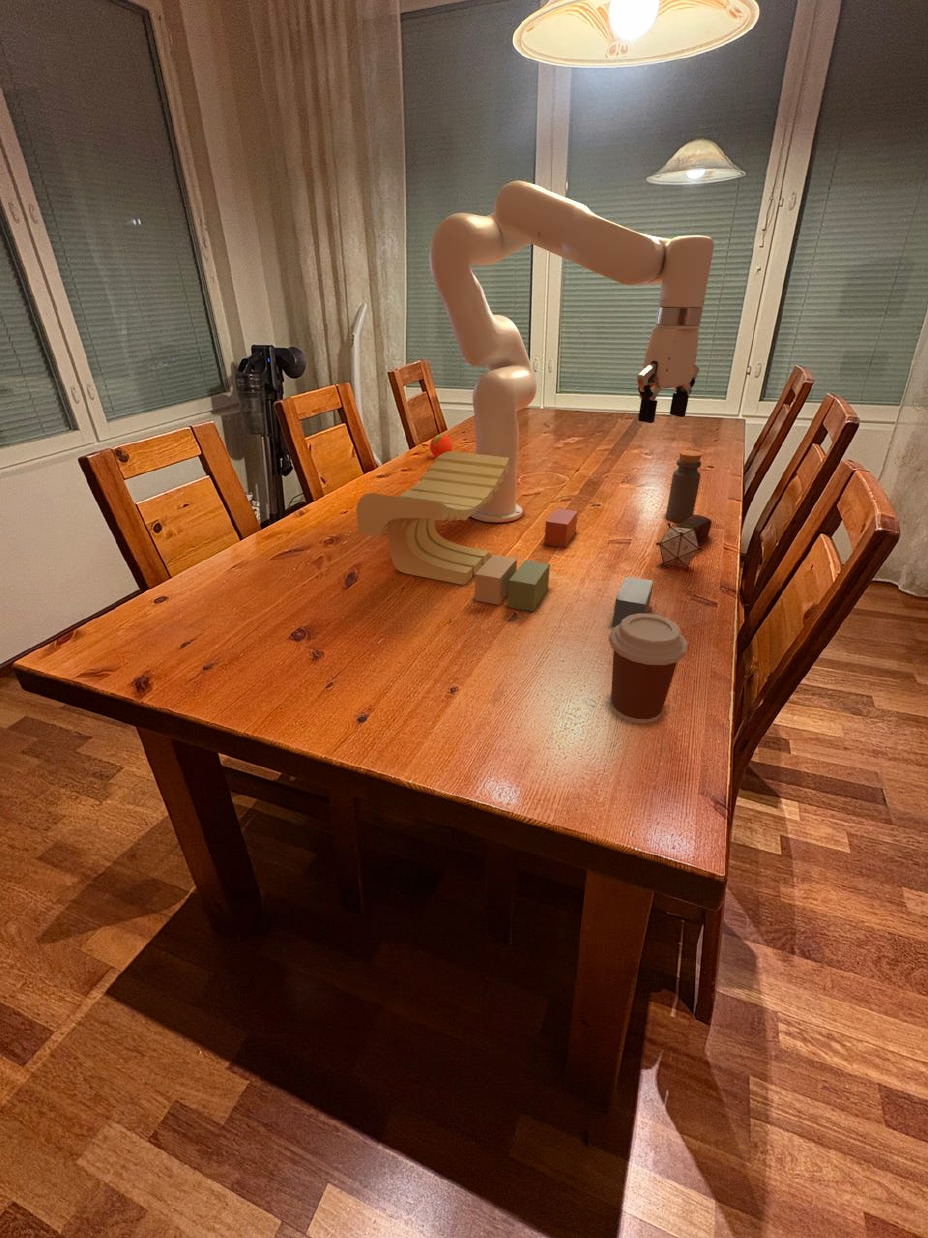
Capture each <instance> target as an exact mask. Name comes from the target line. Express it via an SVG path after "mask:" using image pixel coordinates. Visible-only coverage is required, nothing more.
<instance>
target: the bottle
mask: <svg viewBox="0 0 928 1238" xmlns="http://www.w3.org/2000/svg"><path fill="white" fill-rule="evenodd" d="M702 456H703V453H702V452H699V451H696V450H681V451H679V458H678V459H677V460H676V466H678V468H677V469H675V470H674V471H673V473H672V478H671V484H670V489H669V495H668V500H667V505H666V512H665V518H666V519H667V520H669V521H672V522H676V523H682V522H684V521H685V520H686V519H688V518H689V517H691V516H692V515H694V512H695V506H696V502H697V497H698V493H699V491H698V490H699V486H700V481H701V475H702V474H701V472H700V471H699V470H698V469H699V468H700V467H701V466H702V461H701V459H702Z"/></svg>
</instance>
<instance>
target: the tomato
mask: <svg viewBox="0 0 928 1238" xmlns="http://www.w3.org/2000/svg"><path fill="white" fill-rule="evenodd" d="M429 448H430V452H431V454H432V455H433V456H434V457H435V458H437V457H438V456H440V455H441V454H443V453H445V452H449V451H453V442H452V440H451V438H450V437H448V436H447V435H446V434H437V435H435V436H434V437H433V438H432V439H431V440H430V443H429Z"/></svg>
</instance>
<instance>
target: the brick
mask: <svg viewBox="0 0 928 1238" xmlns="http://www.w3.org/2000/svg"><path fill="white" fill-rule="evenodd" d="M695 526H697V528H696V529H695V533H696V537H697V541H698V545H699V544H700V543H701V542H703V541H704V540H705V539H707V538H708V537H709V533H710V531H711V528H712V519H710V518H709V517H706V516H704V515H700V514H693V515H692V516H691V517H689V518H688V519H686V520H685V521H684V522H679V524H677V526H676V527H681V528H690V529H694V527H695Z"/></svg>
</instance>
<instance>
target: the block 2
mask: <svg viewBox="0 0 928 1238" xmlns="http://www.w3.org/2000/svg"><path fill="white" fill-rule="evenodd" d="M550 569H551V563H548V562H541V561H536V560H530V559H525V560H524V561H522V563H521V564H520V566H519V567H517V570H516V572H515V573H514V574H513V575H512V577H511V578H510V579H509V586H508V594H507V607H508V608H512V609H517V610H522V611H528V612H534V611H535V610H536V608H537V607H538V606H539V604H540V602H541V601H542V599H543V597H544V596H545V594H546V593H547V591H548V590H549V583H550Z"/></svg>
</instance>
